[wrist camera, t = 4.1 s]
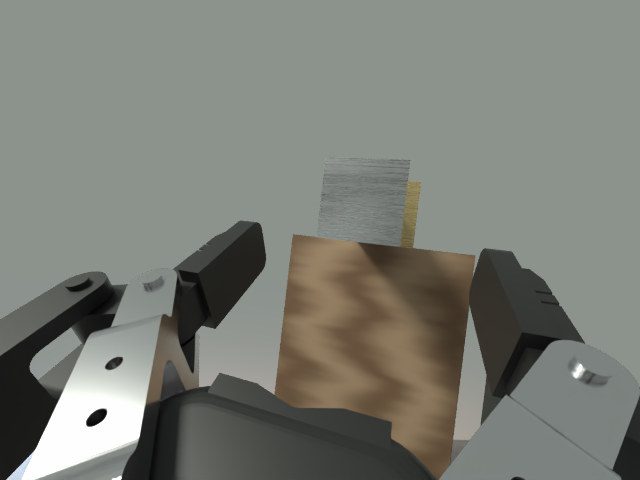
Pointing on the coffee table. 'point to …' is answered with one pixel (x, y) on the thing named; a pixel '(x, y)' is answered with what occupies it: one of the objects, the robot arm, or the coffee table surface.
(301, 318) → the tall stand
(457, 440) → the coffee table surface
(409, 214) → the wood and metal block
